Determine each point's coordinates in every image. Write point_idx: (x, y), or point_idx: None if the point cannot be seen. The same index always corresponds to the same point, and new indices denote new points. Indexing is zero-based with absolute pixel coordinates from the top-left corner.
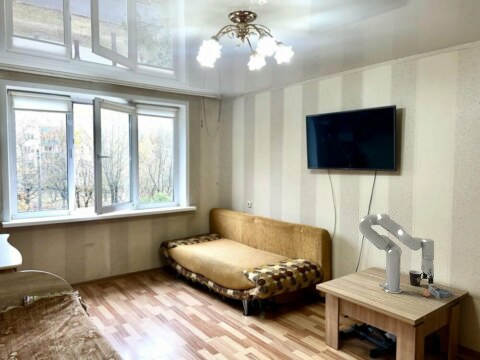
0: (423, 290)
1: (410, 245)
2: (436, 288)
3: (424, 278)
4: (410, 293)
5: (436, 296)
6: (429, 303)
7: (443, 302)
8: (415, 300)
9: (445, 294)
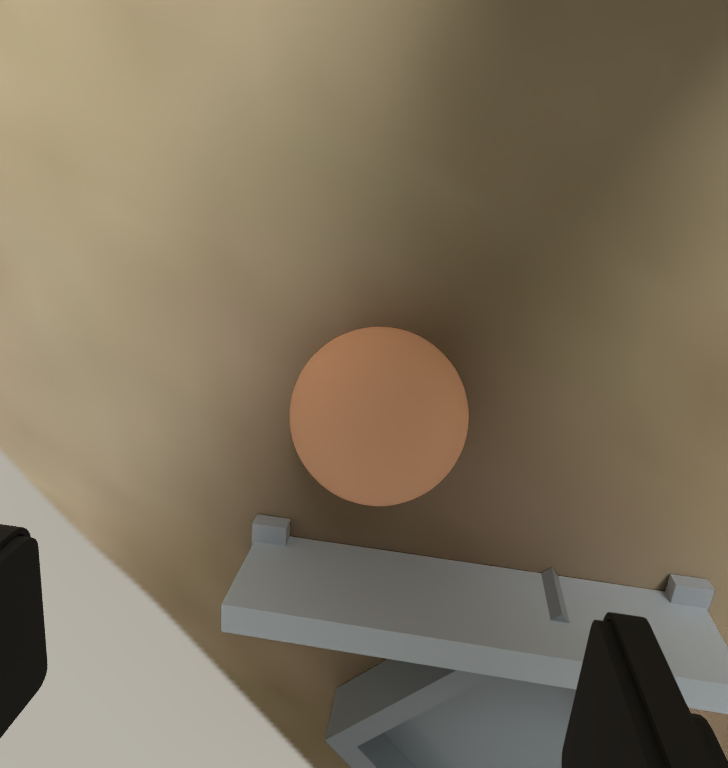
0: (372, 369)
1: None
2: None
3: (587, 676)
4: (566, 89)
5: (308, 556)
6: (11, 263)
7: (115, 543)
8: (114, 12)
9: (327, 736)
